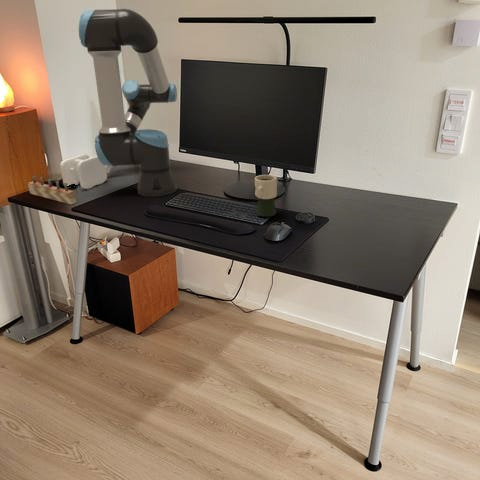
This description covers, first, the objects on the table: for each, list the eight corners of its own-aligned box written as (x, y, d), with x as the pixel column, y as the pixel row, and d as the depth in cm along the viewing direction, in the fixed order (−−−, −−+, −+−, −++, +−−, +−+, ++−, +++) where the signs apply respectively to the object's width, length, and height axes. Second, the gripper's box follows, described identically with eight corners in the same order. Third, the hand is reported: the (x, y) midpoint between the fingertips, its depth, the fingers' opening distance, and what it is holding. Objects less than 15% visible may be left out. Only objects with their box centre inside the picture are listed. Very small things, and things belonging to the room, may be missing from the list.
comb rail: (76, 202, 182) (73, 183, 179) (71, 204, 180) (67, 185, 177) (35, 191, 196) (31, 173, 193) (30, 193, 194) (26, 175, 191)
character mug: (263, 208, 169) (262, 172, 164) (282, 211, 166) (282, 174, 161) (249, 219, 160) (248, 181, 155) (269, 222, 157) (268, 183, 152)
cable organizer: (83, 192, 194) (78, 163, 189) (63, 189, 198) (57, 161, 194) (108, 181, 206) (104, 154, 201) (89, 179, 211) (84, 152, 206)
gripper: (145, 131, 214) (121, 178, 209) (124, 129, 221) (101, 173, 216) (134, 121, 208) (110, 168, 202) (114, 119, 215) (89, 165, 210)
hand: (105, 171), depth 209 cm, fingers closed
